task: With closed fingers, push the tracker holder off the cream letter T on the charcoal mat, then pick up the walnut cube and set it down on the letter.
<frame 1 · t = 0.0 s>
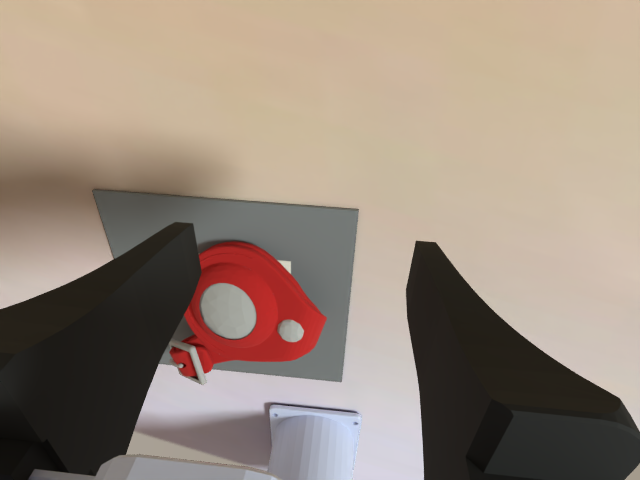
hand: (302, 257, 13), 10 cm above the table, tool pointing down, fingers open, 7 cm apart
letter mat: (235, 298, 29), on the table
tracker holder: (235, 298, 29), resting on letter mat
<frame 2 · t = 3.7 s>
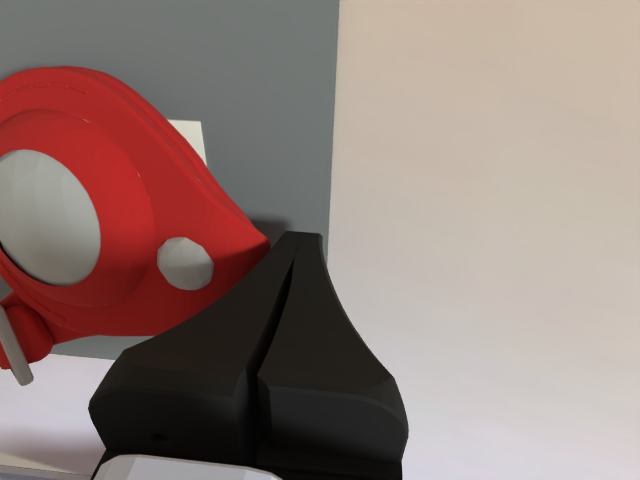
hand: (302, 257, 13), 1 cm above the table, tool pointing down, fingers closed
letter mat: (110, 218, 15), on the table
tracker holder: (101, 218, 15), resting on letter mat, touching gripper
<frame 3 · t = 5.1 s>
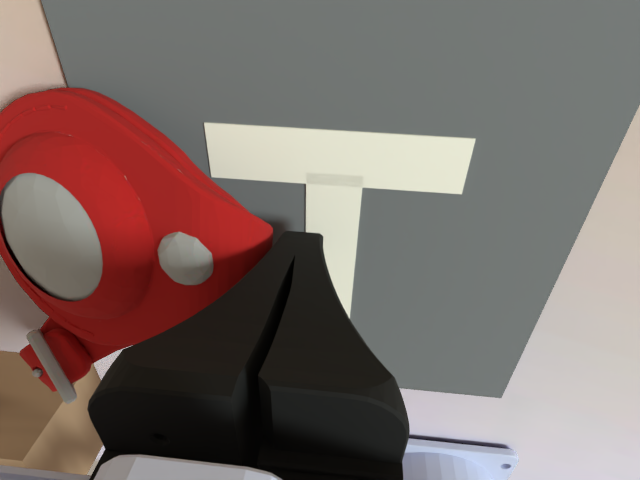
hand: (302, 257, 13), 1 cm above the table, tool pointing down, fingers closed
letter mat: (331, 235, 14), on the table
walnut cube: (61, 384, 22), on the table
tracker holder: (118, 235, 15), resting on letter mat, touching gripper
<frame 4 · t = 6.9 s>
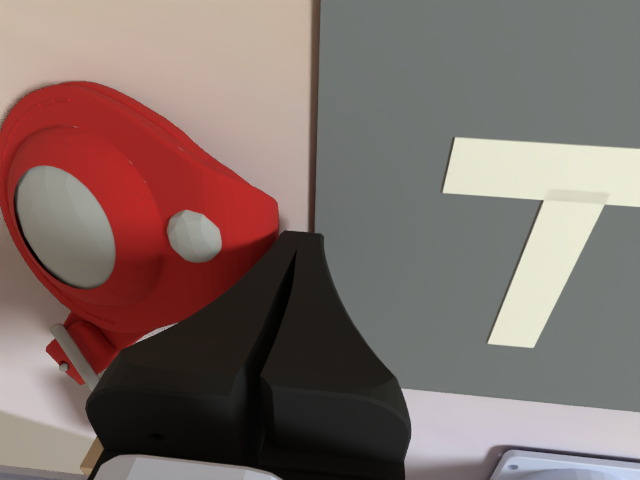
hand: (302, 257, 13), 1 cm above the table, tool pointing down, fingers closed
letter mat: (547, 252, 14), on the table
walnut cube: (195, 398, 21), on the table
tracker holder: (131, 228, 16), on the table, touching gripper
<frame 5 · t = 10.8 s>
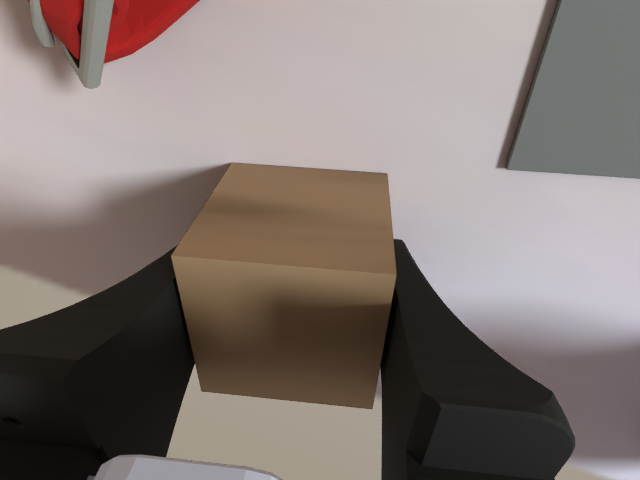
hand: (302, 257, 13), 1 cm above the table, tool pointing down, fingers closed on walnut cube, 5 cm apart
walnut cube: (307, 232, 14), on the table, touching gripper
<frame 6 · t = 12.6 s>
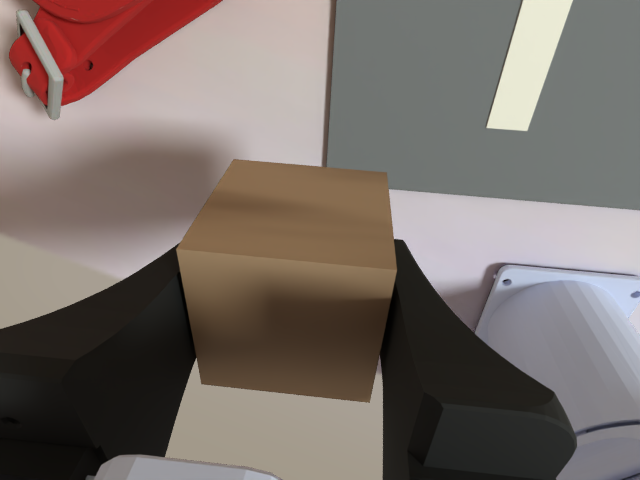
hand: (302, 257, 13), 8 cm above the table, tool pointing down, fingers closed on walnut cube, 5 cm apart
letter mat: (540, 15, 16), on the table
walnut cube: (307, 229, 15), point 7 cm above the table, touching gripper
when the fingers open (3 cm above the table, at t = 14.8 s): walnut cube drops 1 cm, resting on letter mat.
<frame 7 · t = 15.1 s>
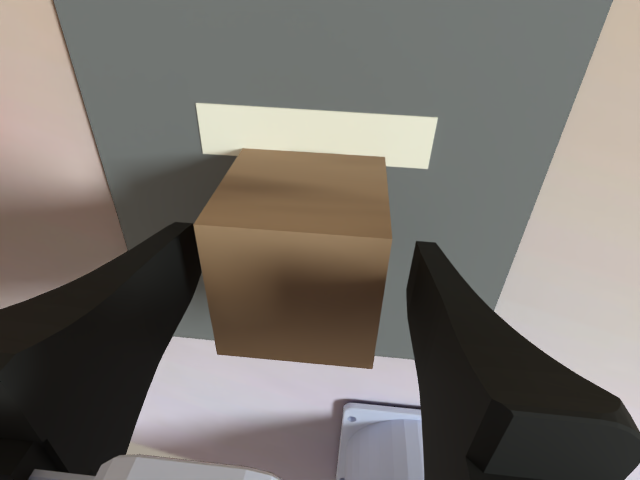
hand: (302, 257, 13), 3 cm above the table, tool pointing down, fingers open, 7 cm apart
letter mat: (313, 208, 16), on the table
walnut cube: (312, 213, 16), resting on letter mat
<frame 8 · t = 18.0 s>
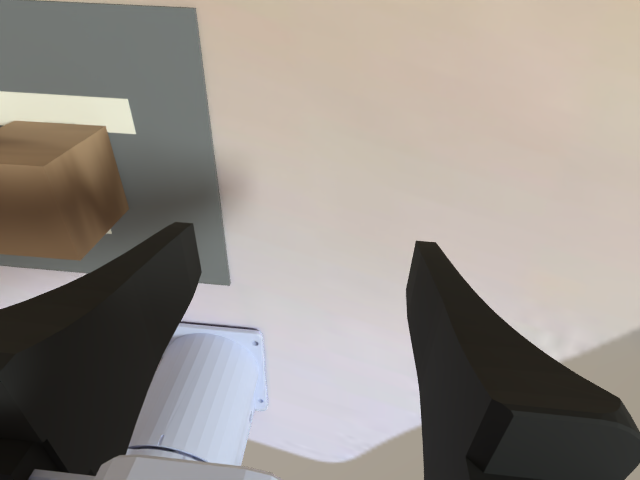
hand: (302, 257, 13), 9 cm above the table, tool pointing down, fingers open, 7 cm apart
letter mat: (77, 164, 23), on the table
walnut cube: (75, 167, 23), resting on letter mat
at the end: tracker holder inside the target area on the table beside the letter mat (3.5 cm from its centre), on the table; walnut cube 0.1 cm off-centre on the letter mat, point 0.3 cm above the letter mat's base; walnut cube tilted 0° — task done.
